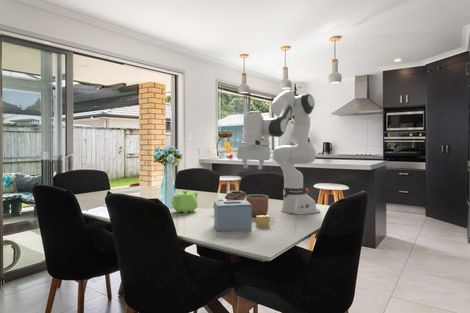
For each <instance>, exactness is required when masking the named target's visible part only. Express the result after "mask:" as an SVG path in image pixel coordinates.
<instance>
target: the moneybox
mask: <svg viewBox="0 0 470 313" xmlns="http://www.w3.org/2000/svg"><path fill="white" fill-rule="evenodd" d="M213 206H214V207H213V209H214V210H213V212H214V213H213V215H214V218H213V219H214V224H213V225H214V227H215V229H216V232H217V233H220V232H221V233H222V232H224V233H225V232H239V231H241V232H242V231H252V223H253V222H252V220H253V219H252V218H253V217H252V204H250V203H249V202H248V201H247V200H246V199H244V200H231V201H226V200H224V201H218V200H214V202H213Z"/></svg>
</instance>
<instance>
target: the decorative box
mask: <svg viewBox="0 0 470 313" xmlns="http://www.w3.org/2000/svg"><path fill="white" fill-rule="evenodd" d="M246 196H247V192H245V191H242V190H228V191H226V195H225V196H224V198H225V201H231V200H246Z"/></svg>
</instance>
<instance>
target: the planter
mask: <svg viewBox="0 0 470 313" xmlns="http://www.w3.org/2000/svg"><path fill="white" fill-rule="evenodd" d="M245 200H247V201H248V202H249V203H250V204H252V218H256V216H262V215H268V212H269V196H268V195H267V194H246V197H245Z"/></svg>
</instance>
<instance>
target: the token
mask: <svg viewBox="0 0 470 313" xmlns="http://www.w3.org/2000/svg"><path fill="white" fill-rule="evenodd" d="M255 226H256V228H262V227H263V228H264V227H270V215H269V214H267V215H262V216H256V217H255Z"/></svg>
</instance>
